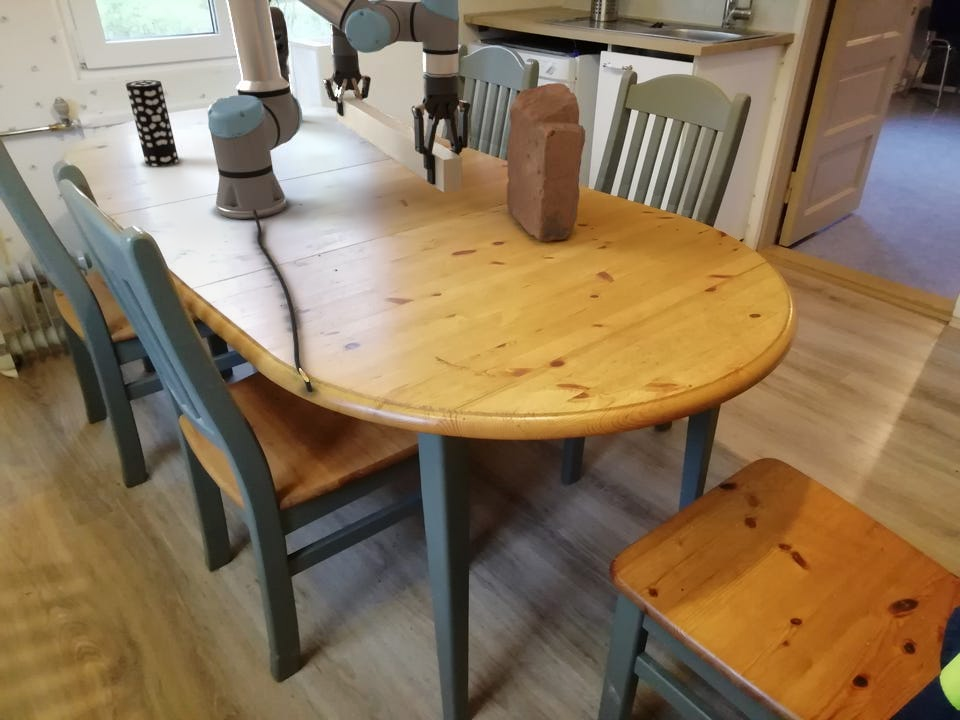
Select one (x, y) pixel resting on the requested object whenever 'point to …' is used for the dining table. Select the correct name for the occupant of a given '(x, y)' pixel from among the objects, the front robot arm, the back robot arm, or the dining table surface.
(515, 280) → the dining table surface
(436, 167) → the bar
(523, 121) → the stone
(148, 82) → the polka dot cylinder
